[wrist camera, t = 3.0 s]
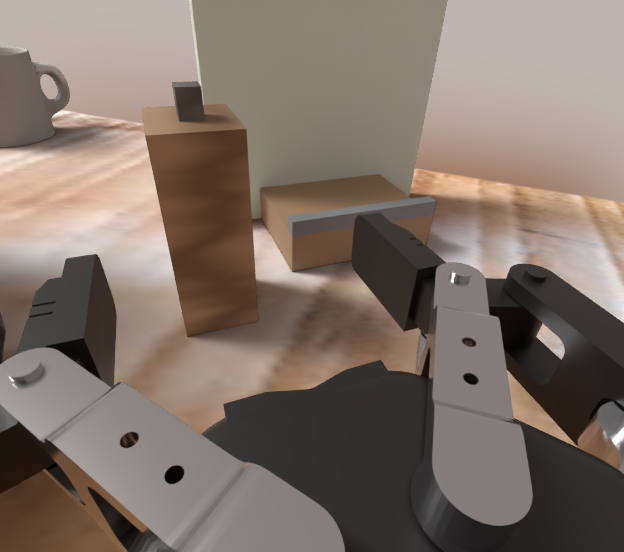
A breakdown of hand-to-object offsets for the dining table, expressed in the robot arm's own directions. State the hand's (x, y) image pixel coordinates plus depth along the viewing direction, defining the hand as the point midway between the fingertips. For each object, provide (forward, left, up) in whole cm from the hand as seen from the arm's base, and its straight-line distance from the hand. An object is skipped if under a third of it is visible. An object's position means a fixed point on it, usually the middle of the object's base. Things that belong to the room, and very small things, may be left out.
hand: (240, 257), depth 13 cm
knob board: (0, +11, -10) cm, 15 cm away
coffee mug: (-18, +55, -10) cm, 58 cm away
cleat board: (+12, +18, -10) cm, 24 cm away
